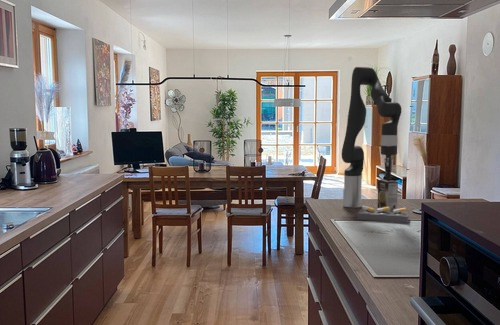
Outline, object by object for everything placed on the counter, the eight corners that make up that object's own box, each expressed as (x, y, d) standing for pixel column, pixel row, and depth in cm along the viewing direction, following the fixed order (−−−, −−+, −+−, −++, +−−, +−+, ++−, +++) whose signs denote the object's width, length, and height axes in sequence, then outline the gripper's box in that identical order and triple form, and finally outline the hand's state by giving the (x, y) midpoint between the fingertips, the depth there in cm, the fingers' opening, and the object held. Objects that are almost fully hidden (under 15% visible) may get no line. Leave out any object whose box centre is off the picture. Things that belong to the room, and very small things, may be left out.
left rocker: (361, 209, 232) (362, 206, 232) (362, 208, 236) (363, 204, 235) (372, 213, 230) (373, 209, 230) (373, 211, 234) (374, 208, 234)
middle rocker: (377, 213, 230) (377, 209, 230) (378, 211, 233) (377, 208, 233) (389, 211, 228) (388, 207, 228) (390, 209, 231) (389, 206, 231)
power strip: (357, 219, 228) (357, 212, 228) (359, 215, 237) (360, 209, 236) (407, 223, 220) (407, 216, 220) (408, 219, 228) (408, 212, 228)
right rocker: (394, 214, 227) (393, 211, 227) (394, 213, 230) (393, 209, 230) (405, 212, 225) (404, 208, 225) (406, 210, 228) (405, 207, 228)
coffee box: (376, 209, 251) (377, 179, 249) (387, 209, 253) (388, 179, 251) (386, 213, 242) (387, 181, 241) (397, 212, 244) (398, 181, 243)
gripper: (382, 143, 234) (381, 178, 236) (379, 145, 222) (378, 182, 223) (398, 143, 231) (397, 179, 233) (396, 145, 219) (395, 182, 221)
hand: (388, 180), depth 228 cm, fingers closed
